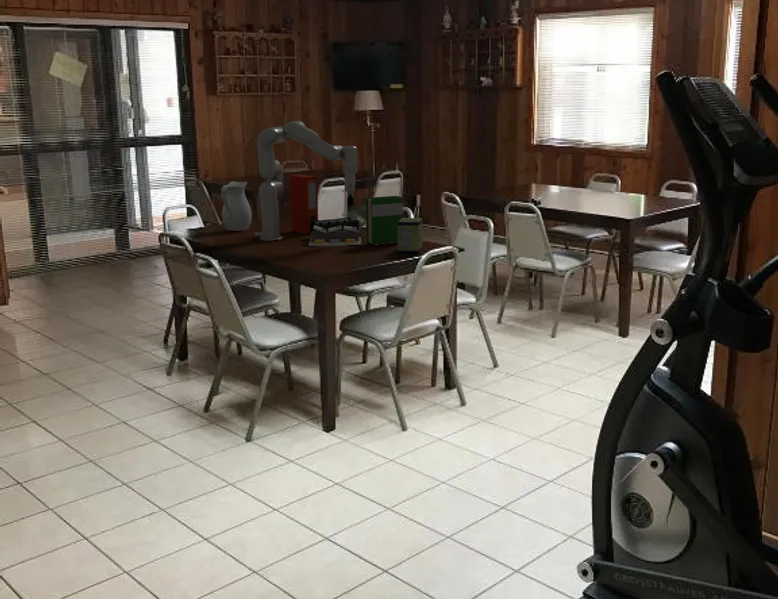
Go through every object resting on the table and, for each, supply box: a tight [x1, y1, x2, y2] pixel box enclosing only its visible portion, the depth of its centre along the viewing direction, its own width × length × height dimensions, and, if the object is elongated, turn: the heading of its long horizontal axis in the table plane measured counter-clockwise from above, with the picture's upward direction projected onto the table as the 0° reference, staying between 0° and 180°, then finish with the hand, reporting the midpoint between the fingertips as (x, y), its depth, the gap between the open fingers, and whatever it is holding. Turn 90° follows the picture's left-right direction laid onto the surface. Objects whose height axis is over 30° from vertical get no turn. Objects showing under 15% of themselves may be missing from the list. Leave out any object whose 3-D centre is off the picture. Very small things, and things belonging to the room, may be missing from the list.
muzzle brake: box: [310, 216, 362, 233], centre depth 465 cm, size 10×28×10 cm, turn 124°
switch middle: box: [328, 225, 342, 232], centre depth 445 cm, size 7×6×1 cm
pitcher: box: [220, 181, 253, 231], centre depth 485 cm, size 24×17×28 cm
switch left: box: [313, 225, 326, 233], centre depth 445 cm, size 7×6×1 cm
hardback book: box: [365, 195, 404, 246], centre depth 441 cm, size 18×7×24 cm, turn 116°
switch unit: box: [308, 230, 362, 247], centre depth 445 cm, size 27×20×6 cm
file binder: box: [289, 174, 319, 235], centre depth 479 cm, size 8×17×32 cm, turn 36°
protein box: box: [397, 217, 424, 254], centre depth 419 cm, size 10×16×16 cm
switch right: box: [344, 226, 357, 231], centre depth 446 cm, size 7×6×1 cm
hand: (350, 205), depth 444 cm, fingers closed
